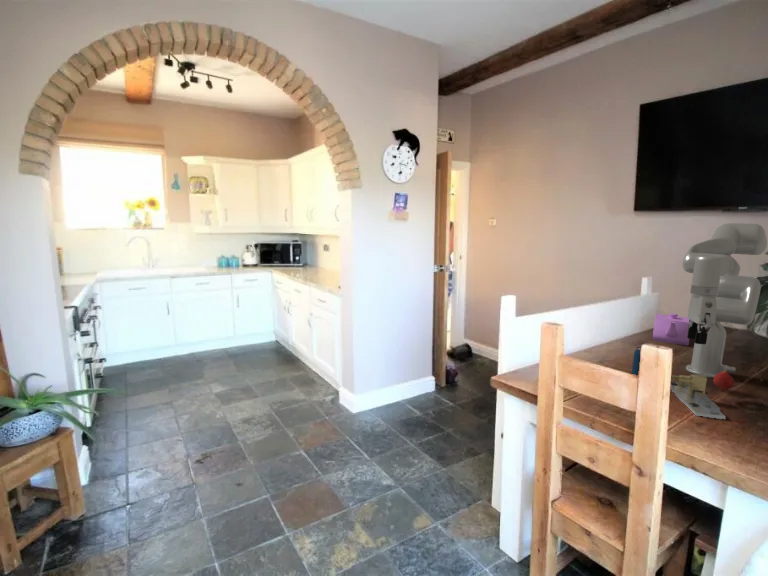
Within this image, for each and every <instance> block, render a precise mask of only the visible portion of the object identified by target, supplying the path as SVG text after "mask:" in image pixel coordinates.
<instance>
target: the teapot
mask: <svg viewBox="0 0 768 576" xmlns="http://www.w3.org/2000/svg"><path fill="white" fill-rule="evenodd" d="M653 323H654V324H653V331H652V336H651V337H652V339H651V341H655V342H661V343H669V344H674V345H681V346H687V347H688V346H689V344H690V339H688V338H687V336H688V329H689V328H690V327H689V318H688V316H687V317H686V316H685V317H684V316H679V314H678V313H673V312H672V313H670V312H669V313H668V314H662V313H661V314H660V313H655V317H654V322H653Z"/></svg>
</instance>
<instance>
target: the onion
mask: <svg viewBox="0 0 768 576" xmlns="http://www.w3.org/2000/svg"><path fill="white" fill-rule="evenodd" d="M712 381H713V385H715V386H716V388H718V390H720V391H721V392H725V391H727V390H729V389H731V388H733V387H734V385H735V380H734V377H733V376H732V375H731V374H729V373H728V371H726V370H724V371H723V372H720V373H718V374H717V375H715V376H714V378H713V379H712Z"/></svg>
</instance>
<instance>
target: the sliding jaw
mask: <svg viewBox="0 0 768 576" xmlns="http://www.w3.org/2000/svg"><path fill="white" fill-rule="evenodd" d="M689 376H690V380H684V379H677V383H678V382H684V383H683V388H686V383H689V386H688V391H687V393H688V394H689V395H692V393H693V390H697V391H702V392H703V393H704V394H705V393H706V385H707V381H708V380H707V379H708V377H705V376H702V375H696V374H693V373H692V374H691V373H690V375H689ZM705 395H706V394H705Z"/></svg>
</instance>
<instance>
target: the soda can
mask: <svg viewBox="0 0 768 576" xmlns="http://www.w3.org/2000/svg"><path fill="white" fill-rule="evenodd" d="M641 347H642V346H637V347H636V349H635V350H634V353H633V359H632V368H631V375H632V374H636V375H638V371H639V362H640V350H641Z"/></svg>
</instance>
